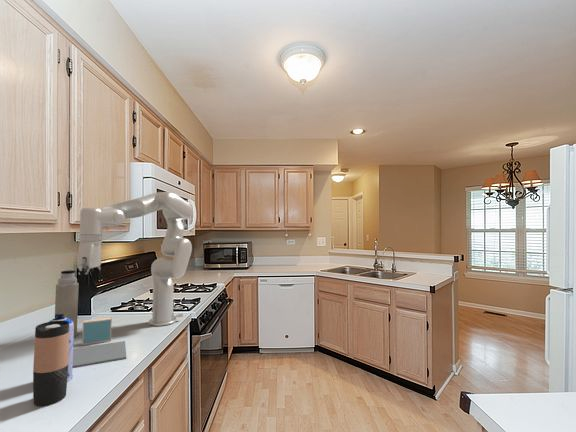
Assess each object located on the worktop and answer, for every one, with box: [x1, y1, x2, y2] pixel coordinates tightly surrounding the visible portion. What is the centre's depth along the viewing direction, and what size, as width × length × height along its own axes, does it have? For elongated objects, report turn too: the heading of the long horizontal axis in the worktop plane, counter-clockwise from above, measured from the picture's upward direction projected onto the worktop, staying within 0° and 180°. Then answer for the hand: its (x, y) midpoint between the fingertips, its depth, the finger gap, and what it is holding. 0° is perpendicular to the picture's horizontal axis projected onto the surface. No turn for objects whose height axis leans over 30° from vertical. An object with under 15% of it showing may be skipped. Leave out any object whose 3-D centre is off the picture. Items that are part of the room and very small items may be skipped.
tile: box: [81, 316, 113, 346], centre depth 128 cm, size 10×3×9 cm, turn 119°
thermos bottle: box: [54, 269, 80, 338], centre depth 134 cm, size 8×8×28 cm
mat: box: [72, 340, 127, 369], centre depth 115 cm, size 22×18×1 cm
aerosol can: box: [48, 313, 74, 383], centre depth 96 cm, size 8×8×20 cm
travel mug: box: [32, 321, 69, 407], centre depth 86 cm, size 8×8×20 cm
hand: (90, 282), depth 124 cm, fingers open, 9 cm apart
